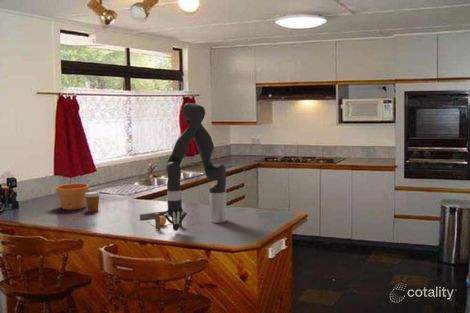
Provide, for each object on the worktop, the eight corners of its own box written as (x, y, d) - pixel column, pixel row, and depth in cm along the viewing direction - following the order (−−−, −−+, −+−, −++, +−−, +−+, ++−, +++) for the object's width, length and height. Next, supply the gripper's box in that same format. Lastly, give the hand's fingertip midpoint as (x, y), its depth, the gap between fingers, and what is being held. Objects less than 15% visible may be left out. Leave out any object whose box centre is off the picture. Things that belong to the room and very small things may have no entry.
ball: (159, 227, 301) (155, 226, 306) (168, 224, 303) (164, 223, 308) (157, 217, 300) (154, 216, 305) (166, 215, 303) (163, 214, 308)
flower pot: (96, 204, 369) (94, 183, 367) (76, 211, 349) (75, 189, 347) (70, 203, 376) (69, 182, 374) (50, 210, 357) (49, 188, 355)
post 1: (154, 229, 297) (154, 213, 296) (159, 228, 298) (158, 212, 297) (156, 230, 295) (155, 214, 294) (160, 229, 296) (159, 213, 295)
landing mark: (146, 221, 315) (146, 221, 315) (169, 218, 321) (169, 218, 321) (153, 226, 302) (153, 226, 302) (176, 223, 308) (176, 223, 308)
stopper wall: (139, 219, 323) (139, 214, 322) (168, 215, 330) (168, 210, 329) (140, 219, 321) (140, 214, 320) (169, 216, 328) (169, 211, 328)
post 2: (176, 226, 302) (176, 210, 301) (181, 225, 303) (180, 210, 302) (178, 227, 300) (177, 211, 299) (182, 226, 301) (181, 210, 300)
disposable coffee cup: (87, 212, 344) (86, 194, 343) (84, 210, 352) (83, 192, 351) (102, 211, 348) (101, 192, 347) (98, 208, 357) (97, 190, 355)
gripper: (183, 196, 291) (185, 227, 293) (160, 198, 286) (162, 230, 288) (188, 198, 284) (189, 230, 286) (164, 201, 279) (166, 233, 281)
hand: (175, 230), depth 287 cm, fingers closed
